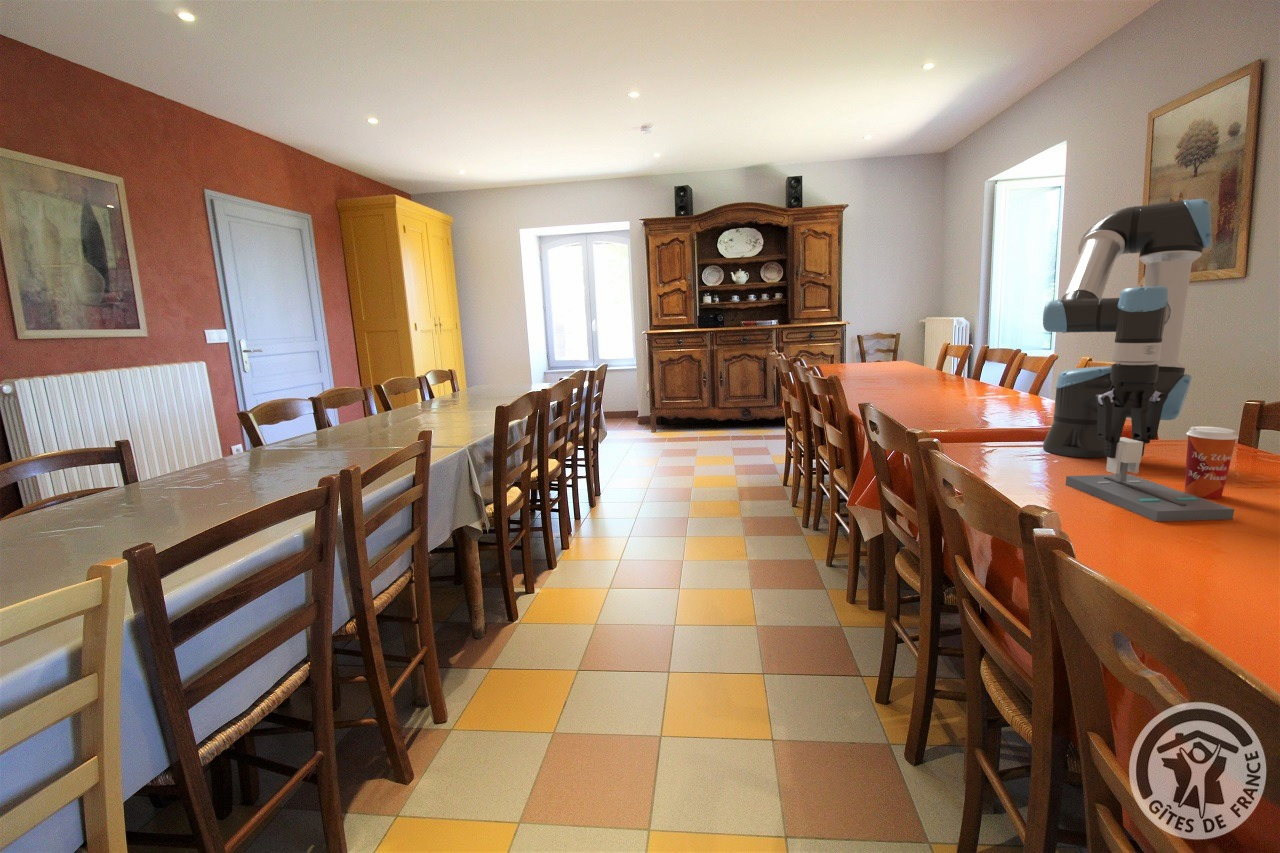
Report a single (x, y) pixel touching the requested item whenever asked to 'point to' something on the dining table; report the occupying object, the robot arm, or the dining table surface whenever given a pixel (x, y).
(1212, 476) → the paper cup
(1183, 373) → the robot arm
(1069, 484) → the console board
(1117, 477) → the fader
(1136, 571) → the dining table surface
